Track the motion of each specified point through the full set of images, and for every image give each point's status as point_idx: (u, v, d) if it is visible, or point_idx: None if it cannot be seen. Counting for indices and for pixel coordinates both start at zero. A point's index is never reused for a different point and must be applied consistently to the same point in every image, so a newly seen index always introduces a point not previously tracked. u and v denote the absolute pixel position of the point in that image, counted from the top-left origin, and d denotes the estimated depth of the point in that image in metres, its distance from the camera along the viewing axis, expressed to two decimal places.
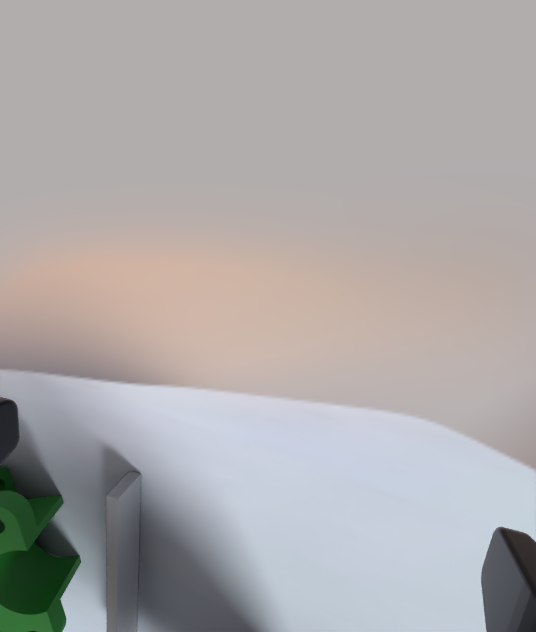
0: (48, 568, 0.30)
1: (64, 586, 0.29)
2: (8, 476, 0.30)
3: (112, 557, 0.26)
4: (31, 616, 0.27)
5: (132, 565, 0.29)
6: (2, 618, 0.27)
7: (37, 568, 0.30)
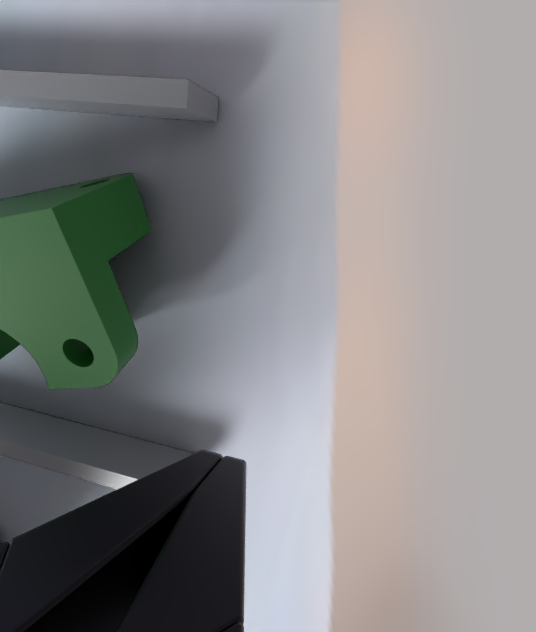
0: None
1: None
2: None
3: (74, 469, 0.18)
4: None
5: None
6: None
7: None
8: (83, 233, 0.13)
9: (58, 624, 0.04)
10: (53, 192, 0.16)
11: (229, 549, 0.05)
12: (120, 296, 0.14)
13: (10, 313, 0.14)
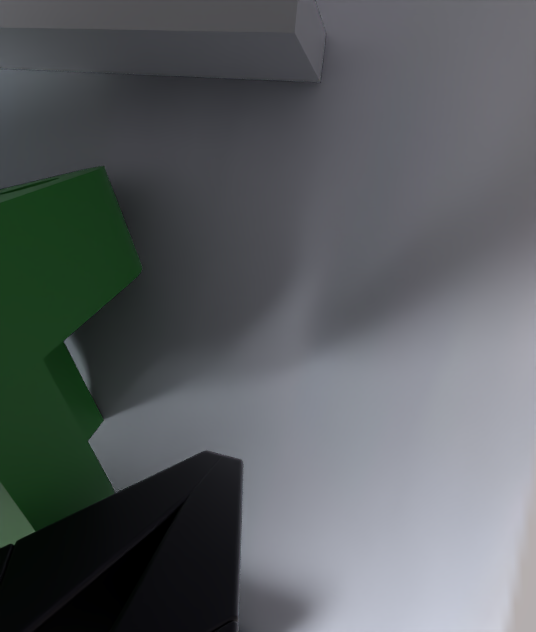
0: None
1: None
2: None
3: None
4: None
5: None
6: None
7: None
8: None
9: (64, 626, 0.04)
10: None
11: (225, 548, 0.05)
12: (74, 429, 0.06)
13: None
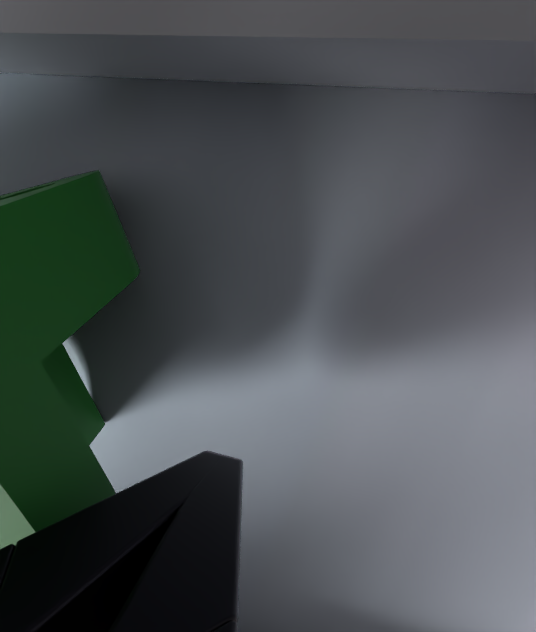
0: None
1: None
2: None
3: None
4: None
5: None
6: None
7: None
8: None
9: (65, 627, 0.04)
10: None
11: (224, 548, 0.05)
12: (74, 431, 0.07)
13: None
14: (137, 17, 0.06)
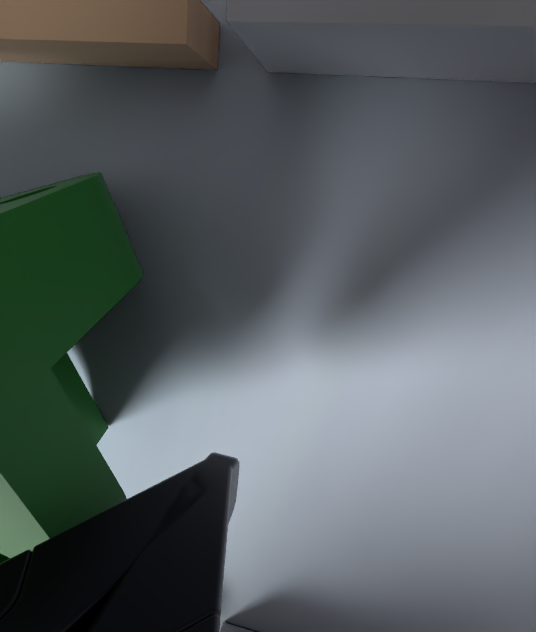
0: None
1: None
2: None
3: None
4: None
5: None
6: None
7: None
8: None
9: None
10: None
11: (210, 543, 0.05)
12: (85, 436, 0.06)
13: None
14: None
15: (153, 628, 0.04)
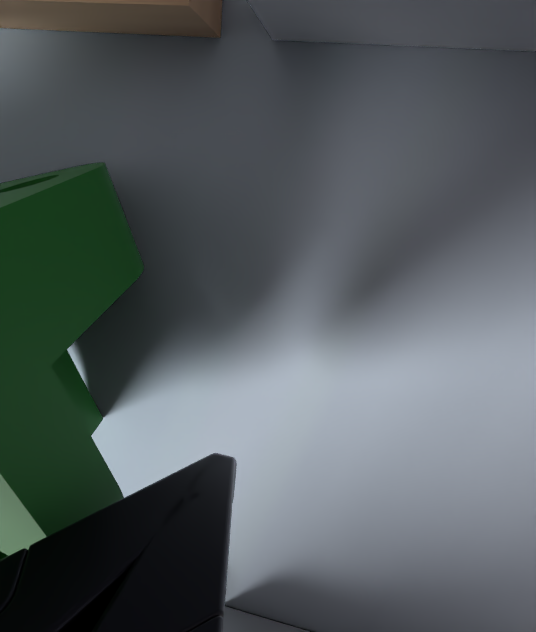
0: None
1: None
2: None
3: None
4: None
5: None
6: None
7: None
8: None
9: None
10: None
11: (213, 544, 0.05)
12: (83, 434, 0.06)
13: None
14: None
15: (157, 630, 0.04)
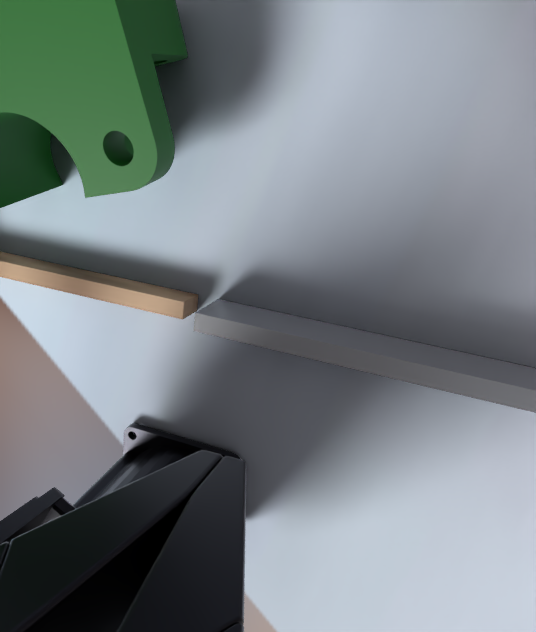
0: (34, 149, 0.19)
1: (23, 198, 0.19)
2: (168, 62, 0.17)
3: (432, 378, 0.16)
4: None
5: None
6: None
7: (30, 135, 0.18)
8: (130, 10, 0.13)
9: (58, 624, 0.04)
10: None
11: (229, 549, 0.05)
12: (161, 95, 0.14)
13: (53, 103, 0.14)
14: None
15: None
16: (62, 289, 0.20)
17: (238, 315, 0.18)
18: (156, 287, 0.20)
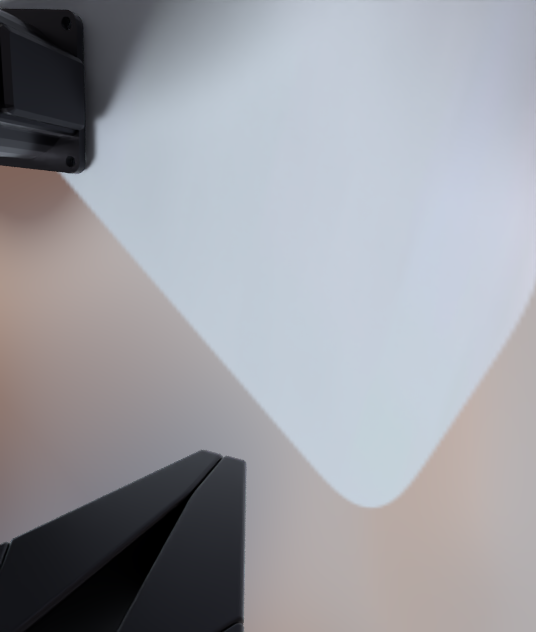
0: None
1: None
2: None
3: None
4: None
5: None
6: None
7: None
8: None
9: (58, 624, 0.04)
10: None
11: (229, 549, 0.05)
12: None
13: None
14: None
15: None
16: None
17: None
18: None
